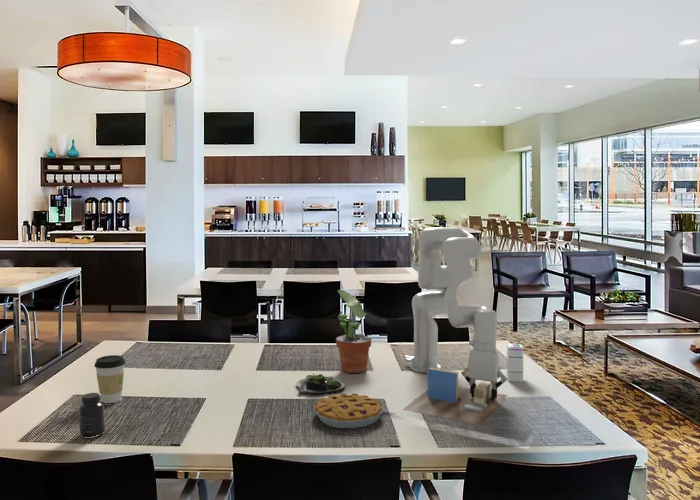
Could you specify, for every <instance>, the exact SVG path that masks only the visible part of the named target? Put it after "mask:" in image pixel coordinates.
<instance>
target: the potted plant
mask: <svg viewBox="0 0 700 500" xmlns="http://www.w3.org/2000/svg"><path fill="white" fill-rule="evenodd" d="M337 293H338V295H340V297H341V298H342V299H343V301H344V302H345V303H346V304H345V305H346V306H347V308H350V310H349V315H347V314H345V313H343V314H341V313H340V314H337V319H338V321H339V324H338V325H339V327H340V328H341V329H342V330H344V333H345V334H343V335H340V336H337V337H335V343H336V344H335V345H336V347H337V348H338V352H339V353H338V354H339V361H340V366H341V368H340V369H341V371H342V372H345V373H347V374H348V373H349V374H358V373H359V374H360V373H364V372H366V370H367V367H368V359H369V351H370V348H371V346H372V337H371V336H367V335H365V334H363V333H355V334H354V330H355V331H356V330H359V327H360V322H356V321H355V317H357V318H359V319H363V318H365V317H366V316H367V312H365V311H364V309H363V308H362V303H361V300H358V299H357V298H356V297H354V296H353V295H352V294H351V293H349V292H348V291H345V290H344V289H343V290H342V289H337ZM348 316H349V317H348ZM347 323H348V324H347ZM347 325H348V327H347Z"/></svg>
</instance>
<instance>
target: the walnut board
mask: <svg viewBox="0 0 700 500" xmlns="http://www.w3.org/2000/svg"><path fill="white" fill-rule="evenodd" d="M507 396H508V394H502V393H498V392H497V398H495V400H494V401H492V400H491V397H490V398H489V399H488V400H487V401H486V402H485V404H487V407H486V408H485V409H484V410H483V412H477V411H472V410H467V409H464V406H465V405H466V404H467V403H468V402H469V401H474V397H471V394H470V387H469V388H467V387H462V386H458V401H457V402H456V403H454V402H449V401H443V400H438V399H432V398H428V389H427V390H426V391H424V392H423V393H421V394H420V395H418V397H417V398H415V399H414V400H413V401H411V402H410V403H409V404H408V405H406V406H404V407H403V408H402V410H405V411H409V412H414V413H419V414H423V415H429V416H433V417H439V418H443V419H444V418H445V419H449V420H453V421H458V422H459V421H460V422H464V423H468V424H469V423H470V424H475V425H478V426H483V424H484V423H485V422H486V421H487V420H488V418H490V416H492V414H493V413H494V411H495V410H496V409H497V408H498V407H499V406H500V404H501V403H502V402H503V401H504V399H506V397H507Z"/></svg>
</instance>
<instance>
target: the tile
mask: <svg viewBox="0 0 700 500" xmlns="http://www.w3.org/2000/svg"><path fill="white" fill-rule="evenodd" d="M458 387H459V371H454V370H449V369H448V370H447V369H442V368H441V369H436V368H429V369H428V373H427V390H428V398H432V399H438V400H443V401H449V402H454V403H456V402H457V401H458Z"/></svg>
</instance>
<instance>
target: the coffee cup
mask: <svg viewBox="0 0 700 500" xmlns="http://www.w3.org/2000/svg"><path fill="white" fill-rule="evenodd" d="M125 364H126V360H125V359H124V356H122V355H119V354H115V355H114V354H113V355H106V356H105V355H103V356H101V357H98V358H97V359H96V360H95V363H94V368H95V371H96V375H95V376H96V380H97V385H98V386H97V387H98V393H99V396H100V402H101V403H102V402H104V403H112V402H117V401H119V400H121V401H122V396H123V394H122V393H123V386H124V374H125V370H124V369H125Z"/></svg>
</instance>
